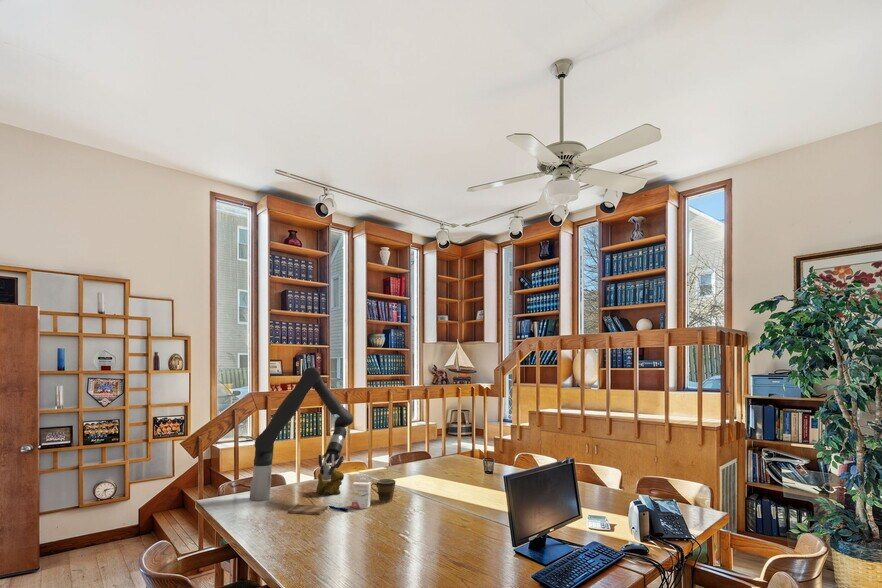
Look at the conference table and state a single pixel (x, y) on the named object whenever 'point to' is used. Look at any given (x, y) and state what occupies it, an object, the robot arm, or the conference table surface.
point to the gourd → (330, 483)
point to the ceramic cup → (385, 489)
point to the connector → (326, 473)
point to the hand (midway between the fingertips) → (325, 473)
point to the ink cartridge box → (361, 492)
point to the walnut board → (308, 509)
